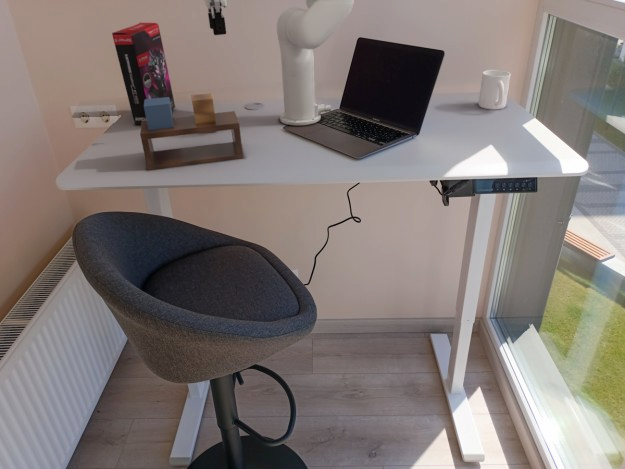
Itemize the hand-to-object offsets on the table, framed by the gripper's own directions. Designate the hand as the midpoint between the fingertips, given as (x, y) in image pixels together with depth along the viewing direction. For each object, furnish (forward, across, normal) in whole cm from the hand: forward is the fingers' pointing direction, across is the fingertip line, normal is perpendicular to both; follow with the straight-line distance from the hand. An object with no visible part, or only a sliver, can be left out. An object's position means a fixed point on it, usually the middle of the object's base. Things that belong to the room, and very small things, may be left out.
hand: (218, 31), depth 134 cm
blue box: (+18, -15, +18) cm, 30 cm away
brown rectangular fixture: (+28, -15, +12) cm, 34 cm away
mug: (+29, -7, -82) cm, 87 cm away
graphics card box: (+28, +23, +22) cm, 42 cm away
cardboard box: (+18, -15, +8) cm, 25 cm away
